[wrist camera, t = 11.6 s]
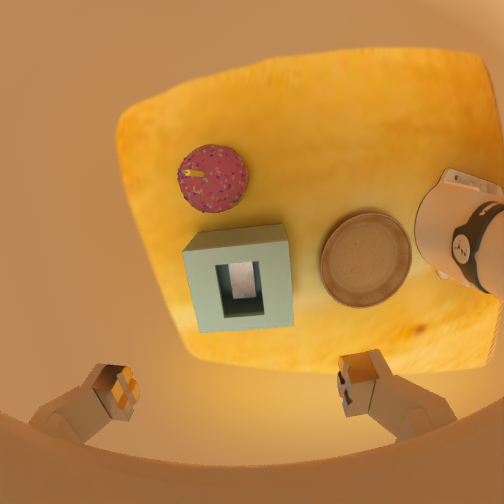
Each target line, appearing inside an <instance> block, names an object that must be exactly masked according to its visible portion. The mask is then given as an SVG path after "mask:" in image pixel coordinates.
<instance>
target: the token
mask: <svg viewBox="0 0 504 504" xmlns="http://www.w3.org/2000/svg"><path fill="white" fill-rule="evenodd" d="M228 265H229V272H230V279H231V286H232V293H233V299H238V298H251V297H256V285H257V280H256V271H255V262H244V263H233V264H228Z"/></svg>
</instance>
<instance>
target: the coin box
mask: <svg viewBox="0 0 504 504" xmlns="http://www.w3.org/2000/svg"><path fill="white" fill-rule="evenodd" d="M182 253H183V258H184V263H185V268H186V273H187V278H188V283H189V287H190V292H191V297H192V301H193V305H194V310H195V314H196V318H197V323H198V327H199V331H200V333H207V332H225V331H241V330H254V329H266V328H276V327H286V326H294V313H293V297H292V281H291V267H290V254H289V241H288V238H287V235H286V232H285V229H284V226H283V223H281V224H271V225H261V226H252V227H243V228H233V229H224V230H216V231H207V232H198V233H197V234H196V236H195V237H194V238H193V239H192V240H191V242H190V243H189V244H188V245H187V246H186V248H185V249H184V250H183V251H182ZM244 262H255V271H256V280H257V285H256V297H251V298H238V299H233V293H232V286H231V279H230V272H229V265H228V264H233V263H244Z"/></svg>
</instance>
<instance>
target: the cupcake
mask: <svg viewBox="0 0 504 504" xmlns="http://www.w3.org/2000/svg"><path fill="white" fill-rule="evenodd" d="M178 169H179V170H178V178H177V180H178V182H179V185H180V188H181V192H182V193H183V195H184V198H185V199H186V200H187V201H188V202H189V203H190V204H191V206H192V207H194V208H195V209H197V210H199V211H202V212H209V213H219V212H222V211H225V210H228V209H231V208H233V207H234V206H236V205H237V204H238V203H239V202H240V200H241V199H242V197H243V196H244V193H245V190H246V186H247V182H248V179H249V175H248V169H247V166H246V165H245V163H244V162H243V160H242V159H241V158H240V157H239V155H238V154H237V153H236V152H235V151H234V150H233V149H231V148H229V147H225V146H219V145H212V144H210V145H205V146H202V147H199V148H197V149H195V150H194V151H192V152H191V153H190V154H189V155H188V156H187V157H186V158H184V161H183V162H182V164H181V165H180V168H178Z"/></svg>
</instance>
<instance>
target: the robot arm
mask: <svg viewBox="0 0 504 504" xmlns="http://www.w3.org/2000/svg"><path fill="white" fill-rule="evenodd" d="M455 176H456V179H455ZM415 237H416V243H417V246H418V249H419V251H420V253H421V255H422V257H423V258H424V259H425V260H426V261H427V262H428V263H430V264H431V265H432V266H434V267H435V269H436V272H437V274H438V276H439V277H440V278H442V279H444V280H446V279H449V278H452V279H454V280H455V281H457V282H459V283H461V284H462V285H464V286H467V287H469V286H470V285H473V286H474V287H475V288H477V289H478V290H481V291H483V292H484V293H487V294H492V295H493V296H494V297H496V298H497V299H498V300H500V301H501V302H502V303H503V304H504V195H503V191H502V188H501V187H500V186H499V185H496V184H494V183H491V182H489V181H486V180H483V179H480V178H478V177H475V176H472V175H469V174H466V173H463V172H460V171H457V170H454V169H451V168H447V169H446V170H445V171H444V173H443V175H442V177H441V179H440V181H439V183H438V184H437V185H436V186H435V187H434V188H433V189H432V190H431V191H430V192H429V193H428V194H427V195H426V197H425V198H424V200H423V202H422V204H421V206H420V208H419V211H418V214H417V218H416V225H415ZM338 365H339V368H340V371H339V372H338V376H337V377H338V378H337V383H338V391H339V395H340V397H342V398H343V404H342V405H343V408H344V412H345V415H346V417H350V416H357V415H363V414H367V413H368V415H369V416H371V417H372V418H373V419H374V420H376V421H377V422H378V423H379V424H381V425H382V426H383V427H384V428H386V429H387V430H388V431H389V432H391V433H392V434H393V435H394V436H396V437H397V439H396V442H395V443H394V444H390V445H387V446H383V447H379V448H375V449H371V450H367V451H363V452H359V453H354V454H349V455H344V456H338V457H333V458H327V459H320V460H313V461H305V462H297V463H286V464H273V465H251V466H222V465H200V464H186V463H177V462H169V461H161V460H154V459H147V458H142V457H136V456H130V455H126V454H121V453H116V452H111V451H108V450H103V449H99V448H96V447H92V446H88V445H85V444H84V443H85V442H86V441H87V440H89V439H90V438H91V437H92V436H94V435H95V434H96V433H97V432H98V431H99V430H101V429H102V428H103V427H104V426H106V425H107V424H108V423H109V422H110V421H111V420H112V419H113V420H120V421H128V422H129V420H130V418H131V416H132V414H133V411H134V409H133V407H132V406H133V405H135V404H136V403H137V402H138V400H139V396H140V389H139V385H138V383H137V382H136V381H135V380H134V379H133V378H132V376H133V372H132V370H131V368H130V367H128V366H119V365H110V364H108V365H107V364H96V366H95V367H94V368H93V370H92V371H91V372H90V374H89V375H88V377H87V378H86V380H85V381H84V383H83V384H82V385H81V387H80V386H78V387H76V388H74V389H72V390H70V391H68V392H67V393H65V394H63V395H61V396H59V397H57V398H56V399H54V400H52V401H50V402H48V403H46V404H44V405H43V406H41V407H39V409H38V410H37V411H36V413H35V414H34V416H33V417H32V418H31V420H30V421H29V423H28V424H26V423H24V422H22V421H19V420H17V419H15V418H13V417H11V416H9V415H7V414H5V413H2V412H1V411H0V504H504V397H503V398H501V399H499V400H497V401H495V402H494V403H492V404H490V405H488V406H486V407H484V408H482V409H481V410H478V411H476V412H475V413H472V414H470V415H468V416H466V417H464V418H462V419H459V420H457V418H456V416H455V415H454V413H453V411H452V410H451V408H450V406H449V404H448V403H447V401H446V400H445V398H443V397H441V396H439V395H437V394H435V393H432V392H430V391H428V390H426V389H424V388H422V387H420V386H418V385H416V384H414V383H412V382H410V381H408V380H406V379H404V378H402V377H400V376H398V375H393V374H392V372H391V370H390V368H389V366H388V364H387V363H386V361H385V359H384V357H383V355H382V354H381V352H380V350H378V349H375V350H370V351H365V352H362V353H356V354H351V355H345V356H340V357H339V363H338Z"/></svg>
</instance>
